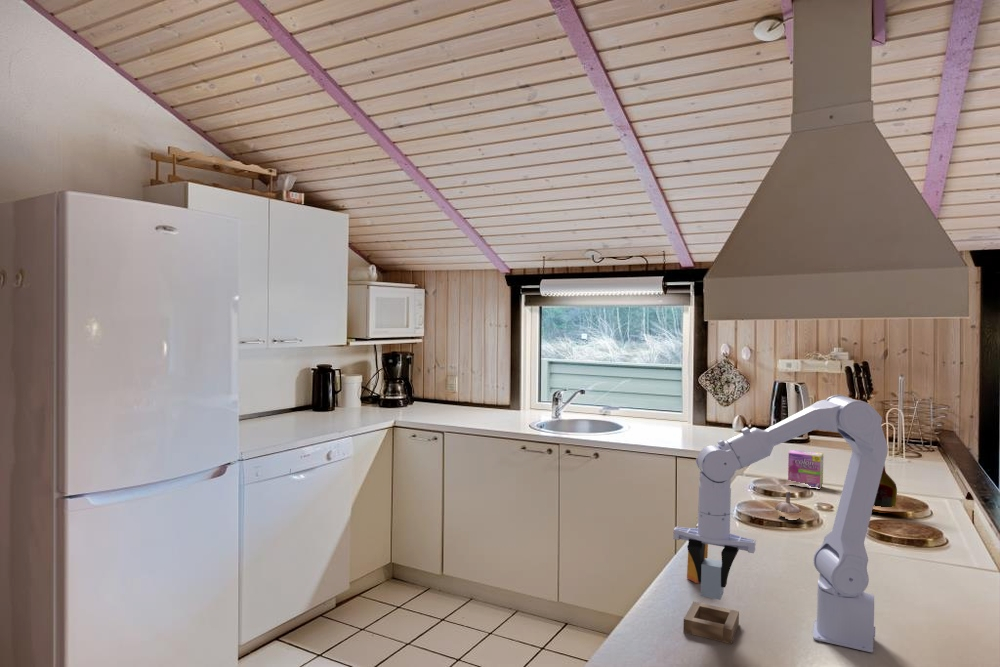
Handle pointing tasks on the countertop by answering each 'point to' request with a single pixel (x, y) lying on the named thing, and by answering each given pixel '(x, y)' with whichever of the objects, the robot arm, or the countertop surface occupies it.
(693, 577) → the supplement box
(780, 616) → the countertop surface
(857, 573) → the robot arm
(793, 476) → the box
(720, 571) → the peg
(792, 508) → the garlic bulb
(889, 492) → the bottle
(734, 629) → the walnut holder
